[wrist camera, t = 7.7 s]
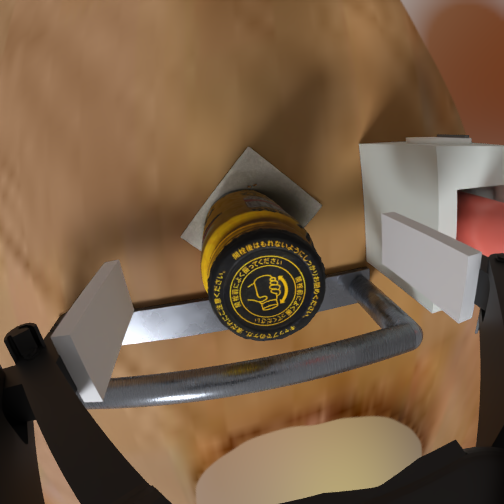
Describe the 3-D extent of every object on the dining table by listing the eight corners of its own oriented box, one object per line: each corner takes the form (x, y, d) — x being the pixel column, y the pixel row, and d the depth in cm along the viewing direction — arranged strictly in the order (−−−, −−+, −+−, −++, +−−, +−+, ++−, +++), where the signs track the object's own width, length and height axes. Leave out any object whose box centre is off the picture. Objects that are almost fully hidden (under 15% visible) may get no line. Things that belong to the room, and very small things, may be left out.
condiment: (180, 236, 25) (157, 309, 13) (248, 146, 23) (283, 142, 12) (255, 287, 27) (286, 382, 15) (321, 204, 25) (402, 250, 14)
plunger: (427, 190, 19) (527, 220, 11) (462, 186, 20) (558, 213, 11) (427, 240, 21) (518, 290, 12) (461, 233, 21) (549, 274, 12)
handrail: (70, 346, 26) (30, 418, 17) (58, 319, 25) (10, 386, 16) (366, 296, 28) (425, 357, 19) (366, 266, 27) (431, 320, 18)
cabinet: (357, 136, 24) (435, 135, 14) (433, 134, 24) (516, 138, 15) (366, 261, 27) (432, 313, 18) (436, 245, 28) (508, 284, 18)
